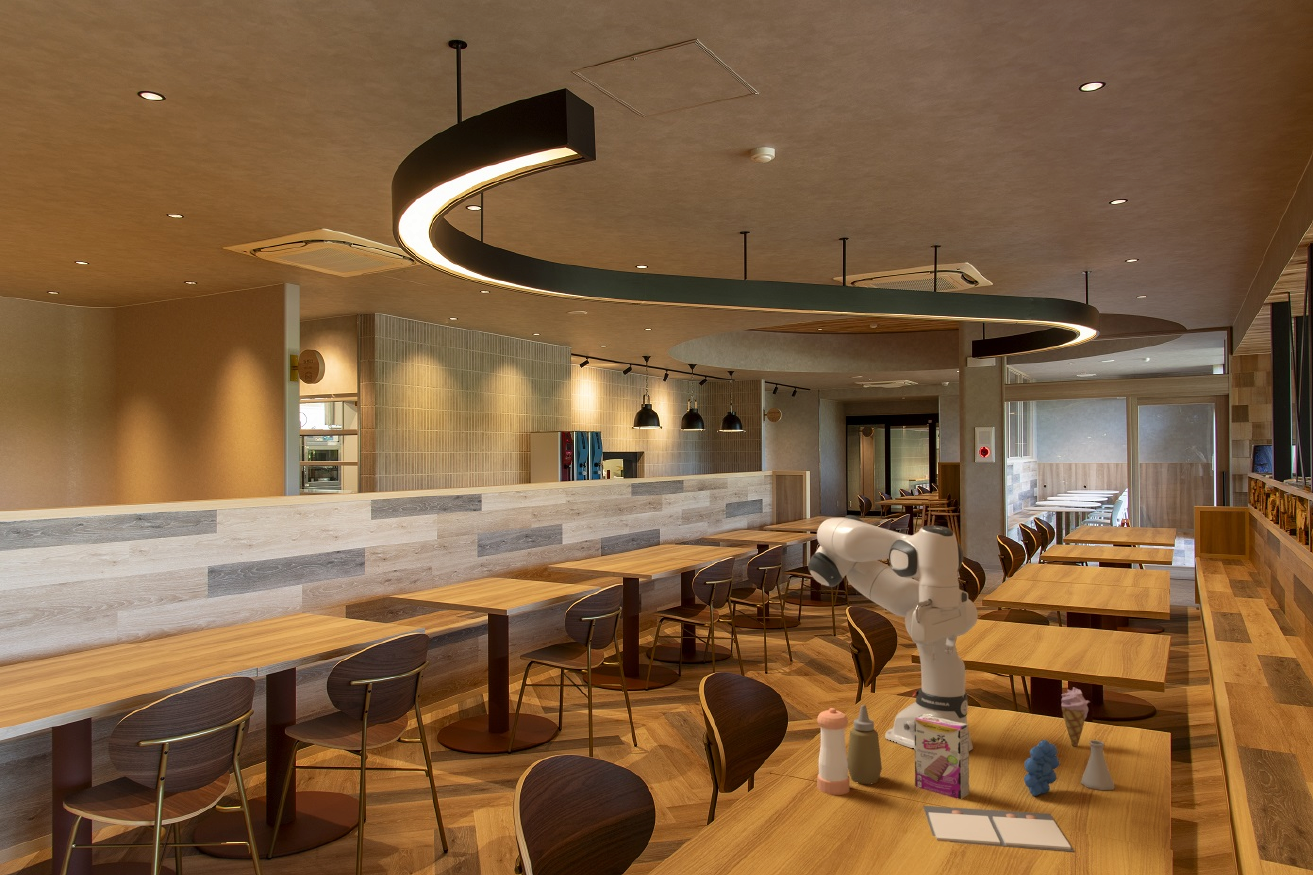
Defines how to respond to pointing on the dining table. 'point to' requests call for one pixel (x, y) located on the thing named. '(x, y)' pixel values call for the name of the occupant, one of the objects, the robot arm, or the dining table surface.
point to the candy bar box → (942, 756)
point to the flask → (1097, 769)
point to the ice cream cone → (1074, 713)
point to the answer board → (996, 828)
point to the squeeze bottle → (864, 750)
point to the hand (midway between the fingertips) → (939, 657)
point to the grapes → (1041, 768)
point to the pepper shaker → (833, 753)
